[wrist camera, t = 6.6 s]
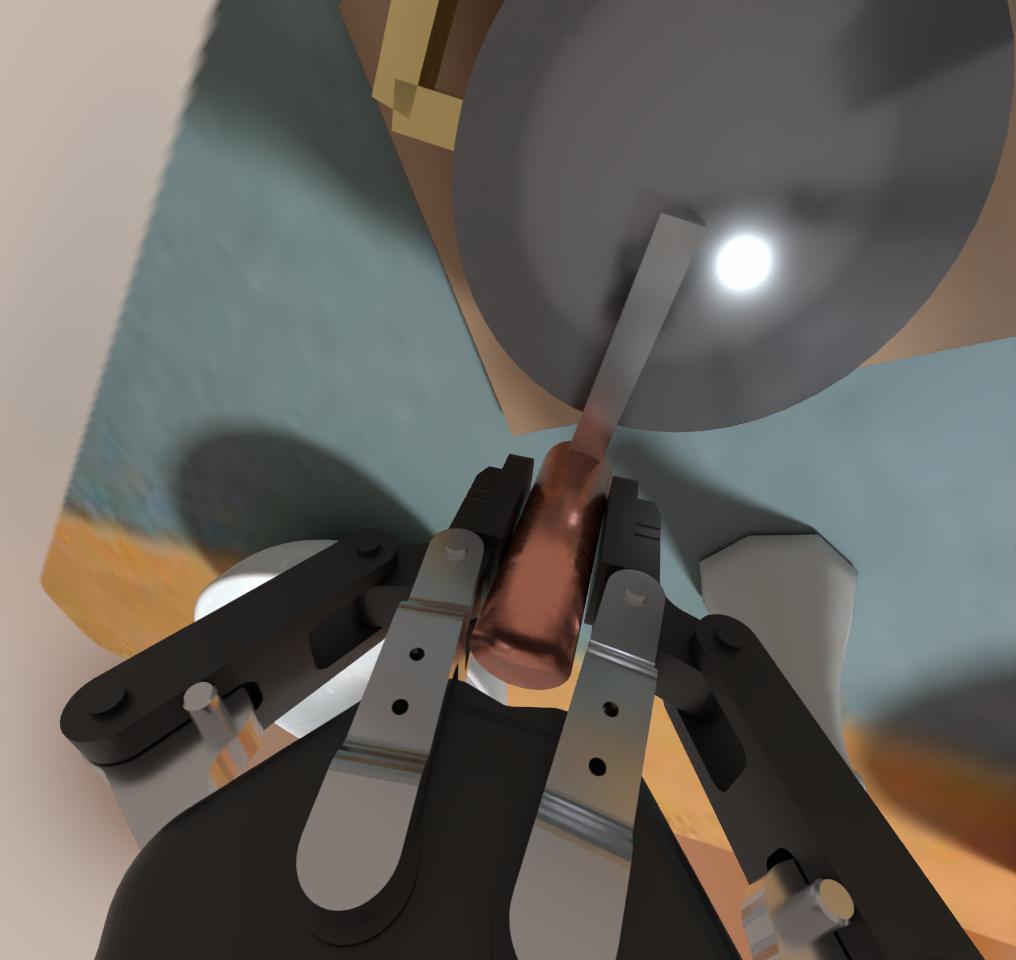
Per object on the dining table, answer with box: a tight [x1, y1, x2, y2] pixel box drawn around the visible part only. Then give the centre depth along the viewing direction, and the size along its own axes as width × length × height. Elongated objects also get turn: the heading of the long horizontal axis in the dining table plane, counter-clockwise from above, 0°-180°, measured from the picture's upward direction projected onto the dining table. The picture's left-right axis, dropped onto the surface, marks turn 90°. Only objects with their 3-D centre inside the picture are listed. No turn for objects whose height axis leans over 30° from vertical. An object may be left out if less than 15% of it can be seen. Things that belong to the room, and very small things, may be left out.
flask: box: [699, 535, 866, 791], centre depth 21 cm, size 7×7×10 cm
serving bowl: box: [194, 540, 507, 739], centre depth 34 cm, size 21×21×7 cm
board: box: [337, 0, 1016, 436], centre depth 15 cm, size 22×16×1 cm
